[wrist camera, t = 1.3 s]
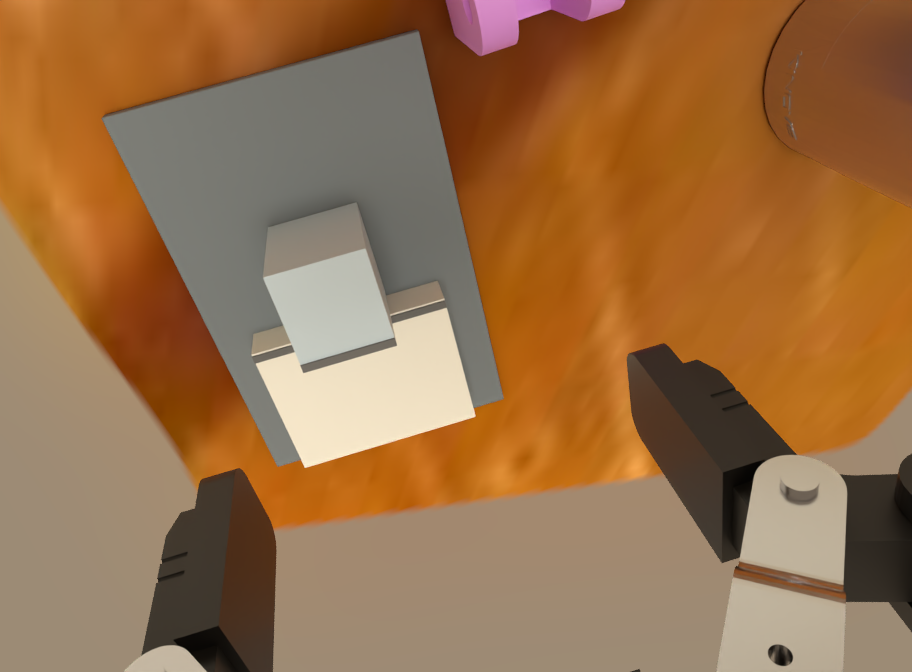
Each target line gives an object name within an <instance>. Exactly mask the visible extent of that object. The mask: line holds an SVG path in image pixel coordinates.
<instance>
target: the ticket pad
mask: <svg viewBox="0 0 912 672" xmlns="http://www.w3.org/2000/svg"><path fill="white" fill-rule="evenodd" d="M102 120H103V122H104V124H105V126H106V128H107V130H108V132H109V134H110V136H111V138H112V140H113V142H114V144H115V146H116V148H117V150H118V152H119V154H120V156H121V158H122V160H123V162H124V164H125V166H126V168H127V169H128V171H129V173H130V175H131V177H132V179H133V181H134V183H135V185H136V187H137V189H138V191H139V193H140V195H141V197H142V199H143V201H144V203H145V205H146V207H147V209H148V211H149V213H150V215H151V217H152V219H153V221H154V223H155V225H156V227H157V229H158V231H159V233H160V235H161V237H162V239H163V241H164V243H165V245H166V247H167V249H168V251H169V253H170V255H171V257H172V258H173V260H174V262H175V264H176V266H177V268H178V270H179V272H180V274H181V276H182V278H183V280H184V282H185V284H186V286H187V288H188V290H189V292H190V294H191V296H192V298H193V300H194V302H195V304H196V306H197V308H198V310H199V312H200V314H201V316H202V318H203V320H204V322H205V324H206V326H207V328H208V330H209V332H210V334H211V336H212V338H213V340H214V342H215V344H216V346H217V347H218V349H219V351H220V353H221V355H222V357H223V359H224V361H225V363H226V365H227V367H228V369H229V371H230V373H231V375H232V377H233V379H234V381H235V383H236V385H237V387H238V389H239V391H240V393H241V395H242V397H243V399H244V401H245V403H246V405H247V407H248V409H249V411H250V413H251V415H252V417H253V419H254V421H255V423H256V425H257V427H258V429H259V431H260V433H261V435H262V436H263V438H264V440H265V442H266V444H267V446H268V448H269V450H270V452H271V454H272V456H273V458H274V460H275V462H276V464H277V466H282V465H285V464H288V463H292V462H295V461H298V460H302V463H303V465H304V467H305V468H306V467H310V466H313V465H316V464H320V463H323V462H326V461H330V460H333V459H336V458H340V457H343V456H346V455H350V454H353V453H356V452H360V451H363V450H366V449H370V448H373V447H376V446H380V445H383V444H386V443H390V442H393V441H396V440H400V439H403V438H406V437H410V436H413V435H416V434H420V433H423V432H426V431H430V430H433V429H436V428H440V427H443V426H446V425H450V424H453V423H456V422H460V421H463V420H466V419H470V418H473V417H476V416H475V412H474V408H475V407H479V406H482V405H485V404H489V403H492V402H495V401H499V400H502V399H504V398H503V394H502V389H501V385H500V381H499V376H498V372H497V368H496V363H495V359H494V355H493V350H492V346H491V342H490V337H489V333H488V329H487V324H486V320H485V316H484V311H483V307H482V303H481V298H480V294H479V290H478V285H477V281H476V277H475V272H474V268H473V264H472V259H471V255H470V251H469V246H468V242H467V238H466V234H465V229H464V225H463V221H462V216H461V212H460V208H459V203H458V199H457V195H456V190H455V186H454V182H453V177H452V173H451V169H450V164H449V160H448V156H447V151H446V147H445V143H444V138H443V134H442V130H441V125H440V121H439V117H438V112H437V108H436V104H435V99H434V95H433V91H432V86H431V82H430V78H429V73H428V69H427V65H426V60H425V56H424V52H423V48H422V43H421V39H420V35H419V31H418V30H413V31H409V32H406V33H402V34H398V35H395V36H391V37H387V38H384V39H380V40H376V41H373V42H369V43H365V44H362V45H358V46H355V47H351V48H347V49H344V50H340V51H336V52H333V53H329V54H325V55H322V56H318V57H314V58H311V59H307V60H303V61H300V62H296V63H292V64H289V65H285V66H281V67H278V68H274V69H271V70H267V71H263V72H260V73H256V74H252V75H249V76H245V77H241V78H238V79H234V80H230V81H227V82H223V83H219V84H216V85H212V86H208V87H205V88H201V89H197V90H194V91H190V92H187V93H183V94H179V95H176V96H172V97H168V98H165V99H161V100H157V101H154V102H150V103H146V104H143V105H139V106H135V107H132V108H128V109H124V110H121V111H117V112H113V113H110V114H106V115H104V116H103V117H102ZM355 202H357V205H358V208H359V211H360V214H361V217H362V221H363V224H364V227H365V230H366V233H367V236H368V239H369V242H370V246H371V249H372V252H373V255H374V258H375V261H376V264H377V267H378V271H379V274H380V277H381V280H382V283H383V286H384V289H385V294H386V298H387V302H388V307H389V311H390V316H391V320H392V325H393V329H394V334H395V338H396V343H397V346H395V347H391V348H388V349H384V350H381V351H378V352H374V353H371V354H367V355H364V356H361V357H357V358H354V359H350V360H347V361H343V362H340V363H337V364H333V365H330V366H326V367H323V368H320V369H316V370H313V371H309V372H306V373H303V371H302V369H301V366H300V363H299V360H298V358H297V356H296V353H295V351H294V349H293V347H292V344H291V342H290V340H289V337H288V335H287V333H286V330H285V328H284V326H283V323H282V321H281V319H280V316H279V314H278V312H277V309H276V307H275V305H274V302H273V300H272V298H271V295H270V293H269V291H268V288H267V286H266V284H265V281H264V279H263V272H264V262H265V252H266V242H267V232H268V227H271V226H274V225H278V224H281V223H285V222H288V221H292V220H295V219H299V218H302V217H306V216H310V215H313V214H317V213H320V212H324V211H327V210H331V209H334V208H338V207H341V206H345V205H348V204H352V203H355Z"/></svg>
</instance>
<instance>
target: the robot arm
mask: <svg viewBox="0 0 912 672" xmlns="http://www.w3.org/2000/svg"><path fill="white" fill-rule="evenodd" d="M764 96H765V109H766V113H767V116H768V119H769V123H770V125H771V127H772V129H773V130H774V132H775V133H776V135H777V137H778V138H779V139H780V140H781V141H782V142H783V143H784V144H786V145H787V146H788V147H789V148H791V149H793V150H795V151H797V152H799V153H801V154H803V155H805V156H807V157H809V158H811V159H813V160H815V161H817V162H819V163H821V164H823V165H825V166H827V167H829V168H831V169H833V170H835V171H837V172H839V173H841V174H842V175H844V176H847V177H849V178H851V179H853V180H855V181H857V182H859V183H861V184H863V185H865V186H867V187H869V188H871V189H873V190H875V191H877V192H879V193H881V194H883V195H885V196H887V197H890V198H892V199H894V200H896V201H898V202H900V203H902V204H904V205H906V206H908V207H910V208H912V0H806V1H805V2H804V3H803V4H802V5H801V6H800V7H799V8H798V9H797V10H796V12H795V13H794V15H793V16H792V17H791V19H790V20H789V22H788V23H787V25H786V26H785V27H784V29H783V31H782V33H781V35H780V37H779V39H778V41H777V43H776V45H775V47H774V49H773V52H772V55H771V58H770V61H769V65H768V68H767V72H766V80H765V88H764ZM627 368H628V379H629V390H630V401H631V411H632V416H633V420H634V423H635V426H636V429H637V431H638V434H639V436H640V438H641V439H642V441H643V443H644V444H645V446H646V447H647V449H648V450H649V452H650V453H651V455H652V456H653V458H654V460H655V461H656V463H657V464H658V466H659V467H660V469H661V470H662V472H663V473H664V475H665V476H666V478H667V479H668V481H669V483H670V484H671V486H672V487H673V489H674V490H675V492H676V493H677V495H678V496H679V498H680V499H681V501H682V503H683V504H684V506H685V507H686V509H687V510H688V512H689V513H690V515H691V516H692V518H693V519H694V521H695V522H696V524H697V526H698V527H699V528H700V530H701V532H702V533H703V535H704V536H705V538H706V539H707V541H708V542H709V544H710V546H711V547H712V549H713V550H714V551H715V553H716V555H717V556H718V558H719V559H720V561H721V562H722V563H724V562H727V561H730V560H733V559H736V558H739V557H740V561H739V565H738V566H736V567H735V570H734V575H733V580H732V585H731V591H730V596H729V602H728V608H727V613H726V619H725V624H724V631H723V636H722V641H721V647H720V653H719V658H718V664H717V670H716V672H843V668H844V642H845V640H844V639H845V616H846V615H845V614H846V602H889V603H890V604H891V605H892V607H893V608H894V610H895V611H896V612H897V614H898V615H899V616H900V617H901V619H902V620H903V621H904V623H905V624H906V625H907V626H908V628H909V629H910V630H911V632H912V454H911V455H909V456H907V457H906V458H905V459H904V460H903V461H902V463H901V465H900V468H899V472H898V474H892V475H891V474H890V475H862V476H861V475H860V476H851V475H840V474H839V473H838V472H837V471H836V470H834V469H833V468H832V467H831V466H829V465H827V464H825V463H824V462H821V461H820V460H817V459H814V458H811V457H807V456H801V455H797V454H796V453H795V452H794V451H793V450H792V449H791V448H790V447H789V446H788V445H787V444H786V443H785V442H784V440H783V439H782V438H781V437H780V436H779V435H778V434H777V433H776V432H775V431H774V430H773V428H772V427H771V426H770V425H769V424H768V423H767V422H766V421H765V420H764V419H763V418H762V416H761V415H760V414H759V413H758V412H757V411H756V410H755V409H754V408H753V407H752V406H751V404H750V405H749V404H748V402H747V400H746V399H745V398H744V397H743V396H742V395H741V394H740V392H739V391H736V390H735V387H734V386H733V385H732V384H731V383H730V382H729V380H728V379H727V378H726V377H725V376H724V375H723V374H722V373H721V372H720V371H719V370H717V369H715V368H713V367H711V366H709V365H707V364H705V363H703V362H701V361H699V360H694V361H691V362H687V363H684V364H683V363H682V362H681V361H680V359H679V358H678V357H677V356H676V355H675V353H674V352H673V351H672V350H671V349H670V348H669V347H668V346H667V345H666V344H659V345H656V346H653V347H649V348H646V349H642V350H639V351H636V352H632V353H629V354H628V356H627ZM161 560H162V564H160V569H159V573H158V578H157V579H158V583H156V588H155V592H154V597H153V602H152V607H151V612H150V617H149V622H148V627H147V631H146V636H145V641H144V646H143V651H142V655H141V656H140V657H139V658H137V659H136V660H135V661H134V662H132V663H131V664H130V666H128V667H127V668H126V669H125V670H124V672H273V645H274V644H273V643H274V612H275V577H276V576H275V575H276V540H275V535H274V531H273V527H272V524H271V521H270V519H269V517H268V515H267V513H266V512H265V510H264V508H263V506H262V504H261V502H260V500H259V499H258V497H257V495H256V493H255V491H254V489H253V487H252V486H251V484H250V482H249V480H248V478H247V476H246V475H245V473H244V472H243V471H242V470H241V469H240V468H238V469H235V470H231V471H228V472H224V473H221V474H218V475H214V476H211V477H208V478H204V479H202V480H201V481H200V483H199V488H198V494H197V500H196V506H195V509H192V510H188V511H185V512H182V513H180V515H179V517H178V518H177V520H176V521H175V523H174V524H173V526H172V528H171V529H170V531H169V532H168V534H167V536H166V539H165V544H164V549H163V554H162V559H161ZM632 672H640V670H639V669H638V670H635V671H632Z"/></svg>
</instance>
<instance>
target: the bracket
mask: <svg viewBox="0 0 912 672" xmlns="http://www.w3.org/2000/svg"><path fill="white" fill-rule="evenodd" d="M624 3H625V0H446V4H447V8H448V12H449V15H450V19H451V23H452V27H453V31H454V35H455V36H456V37H457V38H458V39H459V40H460V41H462V42H463V43H464V44H465V45H467V46H468V47H469V48H470V49H471V50H473V51H474V52H475V53H476V54H477V55H479V56H483V55H486V54H489V53H492V52H495V51H497V50H500V49H503V48H506V47H509V46H512V45H515V44H516V43H517V41H518V36H519V26H518V20H521V19H524V18H527V17H530V16H533V15H536V14H539V13H542V12H545V11H548V10H551V9H552V10H555V11H557V12H560V13H562V14H565V15H567V16H570V17H572V18H575V19H577V20H580V21H586V20H589V19H592V18H595V17H598V16H600V15H603V14H606V13H609V12H612V11H615V10H618V9H620V8H621V7H622V6H623V5H624Z"/></svg>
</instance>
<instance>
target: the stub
mask: <svg viewBox="0 0 912 672" xmlns="http://www.w3.org/2000/svg"><path fill="white" fill-rule="evenodd" d="M263 279H264V281H265V284H266V286H267V288H268V291H269V293H270V295H271V298H272V300H273V302H274V305H275V307H276V309H277V312H278V314H279V316H280V319H281V321H282V323H283V326H284V328H285V330H286V333H287V335H288V337H289V340H290V342H291V344H292V347H293V349H294V351H295V353H296V356H297V358H298V360H299V363H300V366H301V369H302V371H303V373H306V372H309V371H313V370H316V369H320V368H323V367H326V366H330V365H333V364H337V363H340V362H343V361H347V360H350V359H354V358H357V357H361V356H364V355H367V354H371V353H374V352H378V351H381V350H384V349H388V348H391V347H395V346H397V343H396V338H395V334H394V329H393V325H392V320H391V316H390V311H389V307H388V302H387V298H386V294H385V289H384V286H383V283H382V280H381V277H380V274H379V271H378V267H377V264H376V261H375V258H374V255H373V252H372V249H371V246H370V242H369V239H368V236H367V233H366V230H365V227H364V224H363V221H362V217H361V214H360V211H359V208H358V205H357V202H355V203H352V204H348V205H345V206H341V207H338V208H334V209H331V210H327V211H324V212H320V213H317V214H313V215H310V216H306V217H302V218H299V219H295V220H292V221H288V222H285V223H281V224H278V225H274V226H271V227H268V232H267V242H266V252H265V262H264V272H263Z"/></svg>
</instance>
